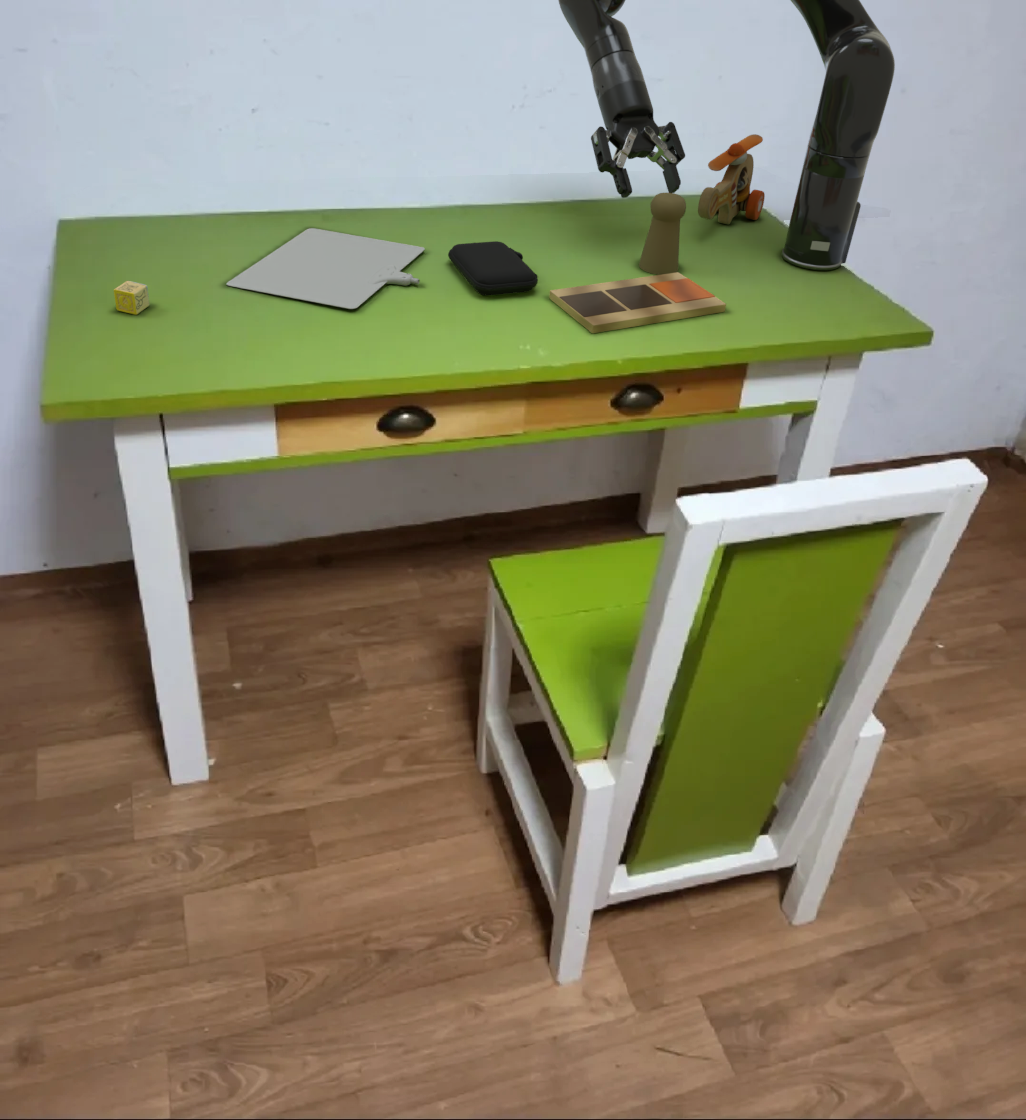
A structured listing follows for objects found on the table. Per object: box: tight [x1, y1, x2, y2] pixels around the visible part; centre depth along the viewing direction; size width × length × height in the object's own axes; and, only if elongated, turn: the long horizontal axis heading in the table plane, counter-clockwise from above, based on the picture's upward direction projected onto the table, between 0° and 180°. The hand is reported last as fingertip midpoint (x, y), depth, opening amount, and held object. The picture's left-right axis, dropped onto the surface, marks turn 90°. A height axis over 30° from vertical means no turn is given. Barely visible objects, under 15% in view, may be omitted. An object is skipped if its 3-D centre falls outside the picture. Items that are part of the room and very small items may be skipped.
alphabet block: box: [113, 280, 150, 316], centre depth 136 cm, size 3×3×3 cm
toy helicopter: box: [697, 134, 766, 225], centre depth 175 cm, size 8×21×14 cm, turn 150°
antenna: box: [226, 227, 426, 310], centre depth 152 cm, size 25×24×1 cm
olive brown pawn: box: [638, 192, 687, 275], centre depth 158 cm, size 6×6×11 cm
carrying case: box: [447, 240, 539, 297], centre depth 153 cm, size 11×3×15 cm
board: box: [548, 271, 727, 334], centre depth 149 cm, size 22×12×1 cm, turn 117°
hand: (651, 193), depth 159 cm, fingers open, 8 cm apart
